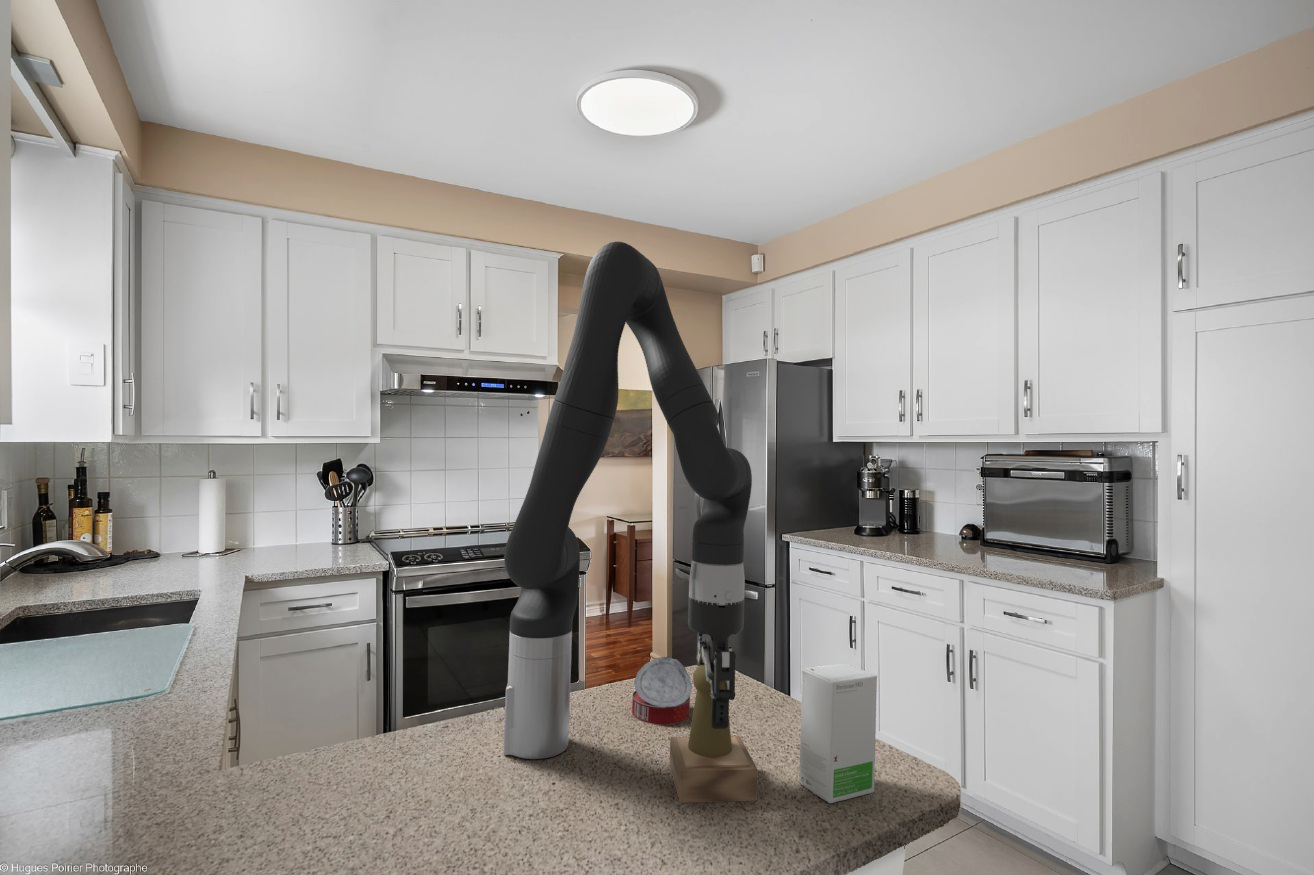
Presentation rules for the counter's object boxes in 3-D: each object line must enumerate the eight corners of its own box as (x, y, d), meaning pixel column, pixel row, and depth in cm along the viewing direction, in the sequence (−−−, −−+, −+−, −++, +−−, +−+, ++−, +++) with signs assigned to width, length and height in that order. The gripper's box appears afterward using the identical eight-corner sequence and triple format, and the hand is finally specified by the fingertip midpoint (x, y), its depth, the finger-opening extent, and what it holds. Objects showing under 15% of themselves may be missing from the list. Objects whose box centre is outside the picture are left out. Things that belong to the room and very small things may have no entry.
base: (679, 802, 85) (680, 769, 85) (669, 765, 95) (670, 735, 95) (756, 800, 86) (757, 767, 86) (738, 764, 96) (739, 734, 96)
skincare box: (828, 806, 85) (832, 683, 85) (795, 782, 91) (798, 667, 91) (877, 792, 89) (880, 674, 89) (842, 770, 95) (844, 660, 95)
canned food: (686, 736, 116) (714, 689, 114) (654, 750, 107) (684, 700, 106) (642, 691, 122) (668, 647, 120) (609, 701, 114) (636, 653, 112)
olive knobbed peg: (730, 759, 88) (732, 675, 88) (684, 754, 89) (687, 671, 89) (734, 740, 94) (736, 661, 94) (691, 735, 95) (693, 657, 95)
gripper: (681, 583, 97) (678, 695, 97) (698, 606, 83) (694, 737, 83) (731, 584, 98) (728, 695, 98) (757, 607, 84) (753, 736, 84)
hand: (713, 714), depth 90 cm, fingers open, 8 cm apart
